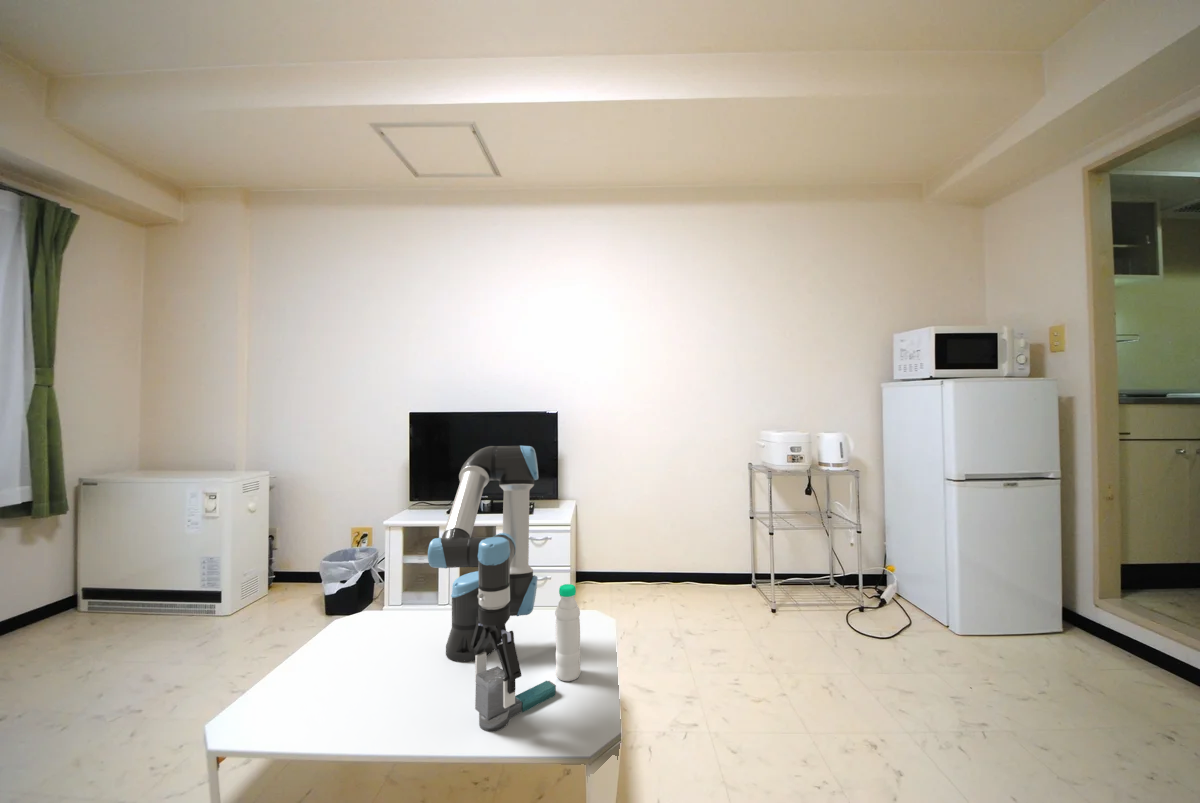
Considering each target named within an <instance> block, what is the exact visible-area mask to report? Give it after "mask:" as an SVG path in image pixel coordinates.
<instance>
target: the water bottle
mask: <svg viewBox="0 0 1200 803" xmlns="http://www.w3.org/2000/svg"><path fill="white" fill-rule="evenodd" d="M576 588H577V587H576V586H575V585H574V584H572V583H566V584H565V583H563V584H561V585H560V586H559V589H558V593H559V597H560V600H559V602H558V605H557V606H556V609H555V612H554V613H555V614H554V615H555V648H556V650H555V676H556V678H558V680H560V681H562V682H572V681H575V680H577V679H578V678H579V677H580V676H581V662H580V661H581V649H580V646H581V625H580V624H581V622H580V621H581V620H580V615H581V610H580V607H579V606H578V602H577V600H576V599H575V596H576V593H577V592H576V591H577V589H576Z"/></svg>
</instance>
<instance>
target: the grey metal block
mask: <svg viewBox="0 0 1200 803" xmlns="http://www.w3.org/2000/svg"><path fill="white" fill-rule="evenodd" d="M503 678H505V674H504V671H503V668H502V667H499V666H498V665H497V666H495V667H492V668H490V669H487V670H486V671H484V672H481V673H478V674H476V682H475V700H474V701H475V702H474V704H475V706H474V707H475V708H474V709H475V710H476V711H477V712H478V714H479V713H480V714H481V715H483V716H484V717H485V718H486V719H487V720H488V719H490V718H493V717H495V716H497V715H499V714H501V713H504V712H506V711H508V710H510V706H509V707H507V708H504V707H503Z"/></svg>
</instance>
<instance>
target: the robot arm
mask: <svg viewBox="0 0 1200 803" xmlns="http://www.w3.org/2000/svg"><path fill="white" fill-rule="evenodd" d="M458 479H459V480H458V481H459V485H458V488H457V490H456V494H455V495H454V496H455V497H454V500H453V503H452V507H451V508H450V512H449V515H448V519H447V521H446V524H445V527H444V530H443V533H442V536H441V537H436V538H432V540H431V541H430V542H429V544H428V549H427V561H428V564H429V566H430V567H431V568H436V569H450V568H478V570H476V571H471V572H469V573H465V574H463V575H460V576H459V577H457V578H456V579H455V580H454V581H453V583H452V585H451V587H452V588H451V595H450V597H451V628H450V630H449V631H450V632H449V635H448V637H447V642H446V645H445V656H446V658H448V660H452V661H453V662H460V663H469V662H475V663H474V664H475V671H474V672H475V673H474V674H475V677H474V678H475V680H474V681H475V683H476V674H478V673H481V672H484V671H486V670H488V668H487V657H488V656H490V655H491V654H492V653H493V652H494V651H495V652H497V656H498V659H499V662H500V665H501V669H502V670H503V671H504V674H505V678H503V707H504V708H507V707H509V706H511V705H513V704H515V696H516V679H518V678H521V677H522V670H521V667H520V666H521V665H520V663H519V658H518V654H517V648H516V644H515V636H514V633H515V632H514V631H513V630H509V631H508V630H507V628H506V624H507V622H508V621H509V620H510V618H511V617H519V616H528V615H530V614H531V613H532V612H533V610H534V607H535V602H536V596H537V590H538V589H537V588H538V579H539V578H538V575H534V570H533V568H532V567H531V566H530V565H529V559H530V558H529V552H530V550H529V548H530V546H529V545H530V544H529V542H530V541H529V540H530V537H529V536H530V490H531V489H532V488H533V487H534V486H535V481H537V480H539V468H538V458H537V453H536V450H535V448H534V447H533V446H530V445H489V446H485V447H483V448H480V449H478V450H477V451H475V452H474V453H473V454H471V455H470V456H469V457H468V458H467V460H466V461H465V462H464V463H463V465H462V466H461V469H460V471H459V474H458ZM490 481H498V485H499V486H498V487H499V488H501V490H503V504H502V506H503V507H502V509H503V510H502V532H501V533H497V534H496V535H494V536H483V537H482V536H480V537H473V536H472V534H473V531H474V527H475V523H476V519H477V514H478V510H479V508H480V504H481V501H482V500H481V499H482V495H483V493H484V488H485V487H486V486H487V485H488V483H490Z"/></svg>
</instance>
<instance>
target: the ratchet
mask: <svg viewBox="0 0 1200 803" xmlns="http://www.w3.org/2000/svg"><path fill="white" fill-rule="evenodd" d="M556 690H557V684H555V683H553V682H552V681H551V680H545V681H543V682H540V683H539V684H537V685H535V686H533V687H530V688H528V689H527V690H524V691H523V692H521V693H518V694H515V704H513V705H511V706H510V710H508V711H506V712H504V713H501V714H499V715H497V716H495V717H493V718H490V719H488V720H487V719H486V718H485V717H484V716H483V715H481V714H480V713H479V712H478V722H479V723H478V725H479V728H480V729H481V730H482V731H484V732H489V733H490V732H491V733H493V732H498V731H501V730H502V729H504V728H505V727H507V726H508V724H509V722H510V719H511V718H513V717H515V716H517V715H519V714H521V713H525V712H526V711H528V710H530V709H532V708H535V707H536V706H538V705H540V704H542V703H543V702H546V701H548V700H550V699H551V698H553V697H555V696H556V694H557V691H556Z"/></svg>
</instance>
